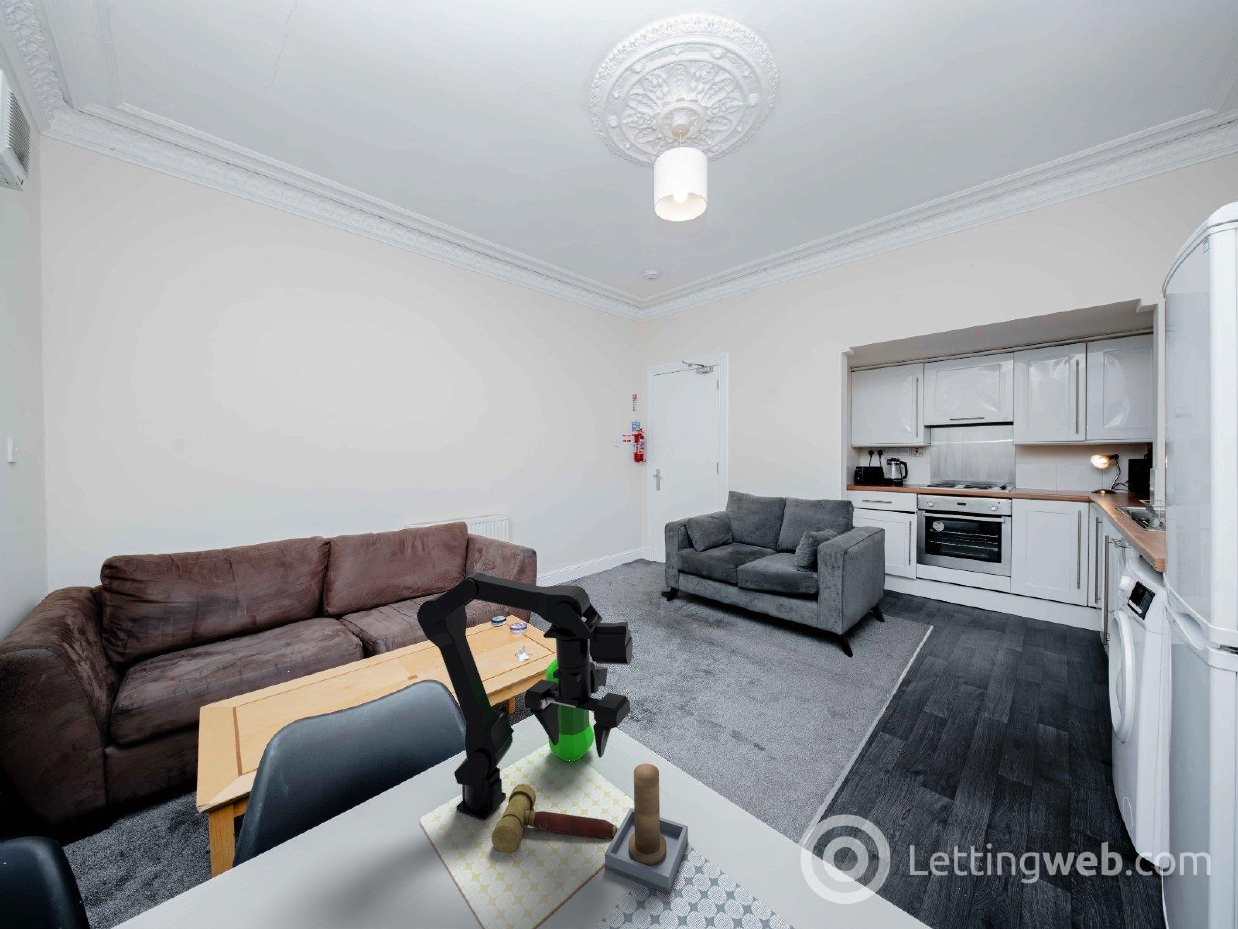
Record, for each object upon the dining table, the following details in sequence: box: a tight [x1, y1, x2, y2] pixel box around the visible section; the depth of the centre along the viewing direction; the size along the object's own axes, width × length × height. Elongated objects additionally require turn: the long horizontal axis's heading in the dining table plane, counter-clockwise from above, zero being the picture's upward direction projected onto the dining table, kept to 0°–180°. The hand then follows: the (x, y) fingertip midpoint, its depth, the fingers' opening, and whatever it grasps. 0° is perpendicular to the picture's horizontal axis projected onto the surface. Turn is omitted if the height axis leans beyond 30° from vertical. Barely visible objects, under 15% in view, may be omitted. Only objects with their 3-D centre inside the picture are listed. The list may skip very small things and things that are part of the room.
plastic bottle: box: [545, 657, 595, 762], centre depth 100 cm, size 10×10×25 cm
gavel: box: [490, 783, 619, 853], centre depth 79 cm, size 21×5×10 cm
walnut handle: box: [629, 763, 666, 866], centre depth 74 cm, size 6×6×12 cm
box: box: [604, 807, 689, 895], centre depth 74 cm, size 10×10×2 cm
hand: (578, 750), depth 82 cm, fingers open, 9 cm apart
